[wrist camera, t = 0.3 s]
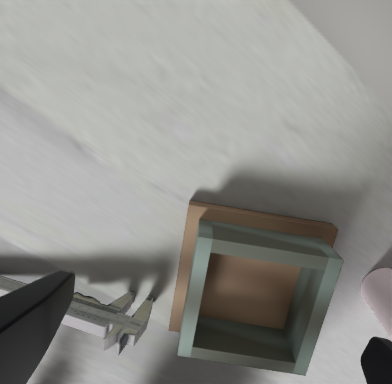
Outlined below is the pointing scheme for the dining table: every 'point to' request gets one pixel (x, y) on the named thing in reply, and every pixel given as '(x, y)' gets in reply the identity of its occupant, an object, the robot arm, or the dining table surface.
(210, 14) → the dining table surface
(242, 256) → the dock
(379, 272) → the smoothie
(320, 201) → the dining table surface
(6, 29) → the dining table surface
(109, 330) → the caliper
